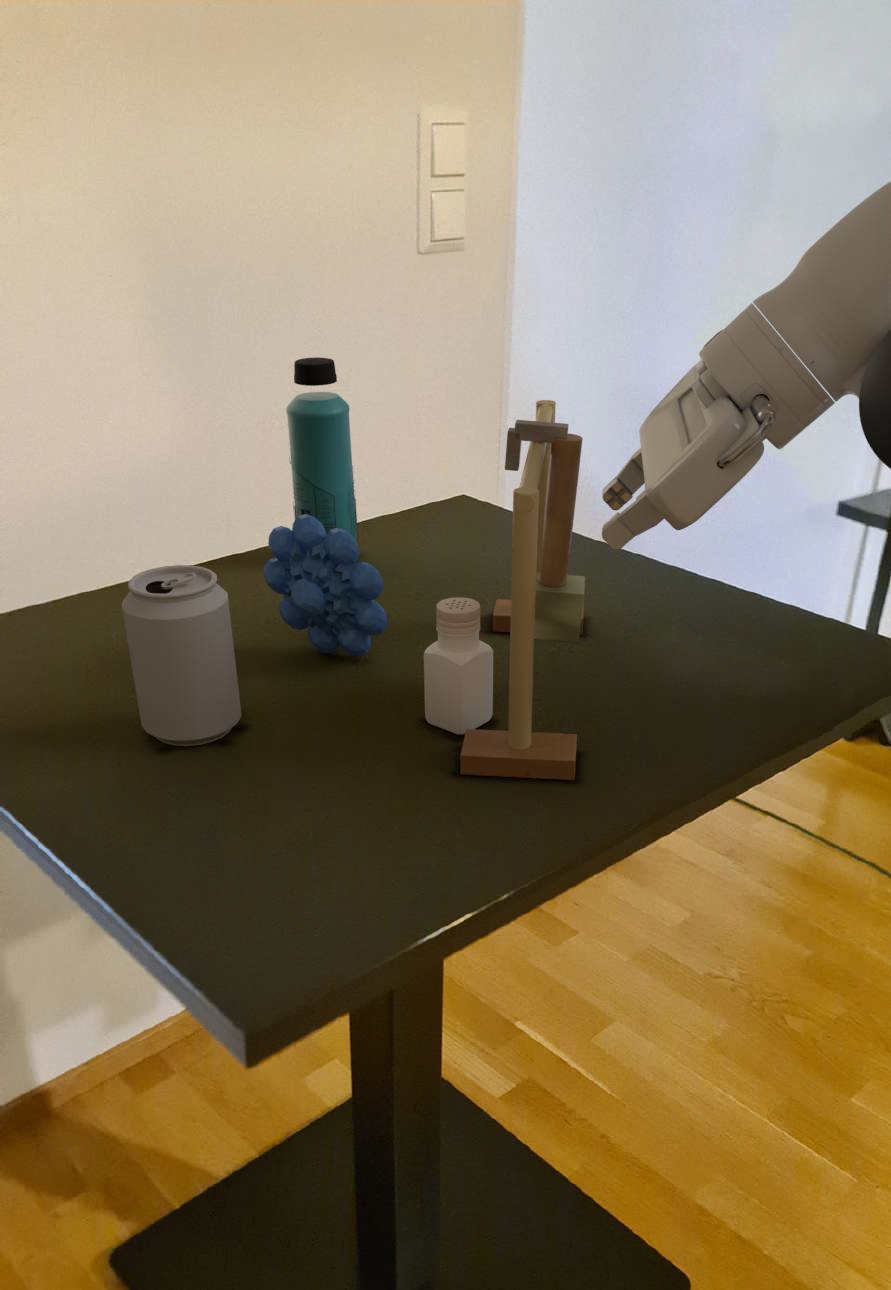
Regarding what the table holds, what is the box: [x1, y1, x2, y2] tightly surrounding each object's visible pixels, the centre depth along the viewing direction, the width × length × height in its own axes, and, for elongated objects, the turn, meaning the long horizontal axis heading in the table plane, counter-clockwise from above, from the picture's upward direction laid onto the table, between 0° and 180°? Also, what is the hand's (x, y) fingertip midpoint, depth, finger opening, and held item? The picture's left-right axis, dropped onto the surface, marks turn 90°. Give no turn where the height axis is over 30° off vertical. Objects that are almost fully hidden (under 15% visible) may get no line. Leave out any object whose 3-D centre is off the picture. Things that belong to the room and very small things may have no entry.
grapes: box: [263, 514, 388, 657], centre depth 94 cm, size 12×7×12 cm, turn 64°
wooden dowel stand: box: [459, 399, 585, 781], centre depth 87 cm, size 8×30×20 cm, turn 173°
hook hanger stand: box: [504, 419, 586, 644], centre depth 85 cm, size 7×4×16 cm, turn 83°
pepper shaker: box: [423, 596, 494, 735], centre depth 84 cm, size 4×4×10 cm
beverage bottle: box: [285, 356, 359, 542], centre depth 114 cm, size 6×7×20 cm
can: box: [121, 564, 243, 747], centre depth 83 cm, size 8×8×12 cm
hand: (607, 520), depth 84 cm, fingers open, 8 cm apart
